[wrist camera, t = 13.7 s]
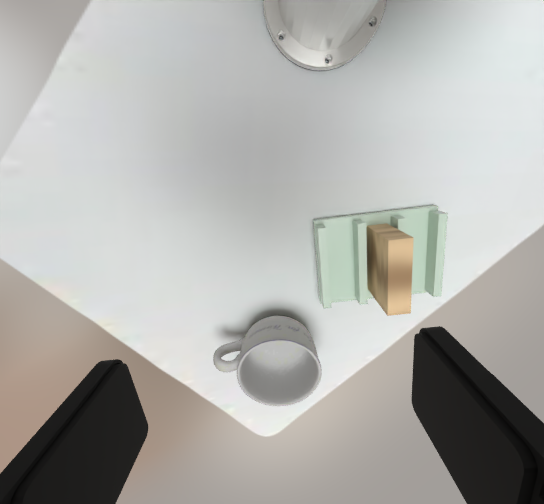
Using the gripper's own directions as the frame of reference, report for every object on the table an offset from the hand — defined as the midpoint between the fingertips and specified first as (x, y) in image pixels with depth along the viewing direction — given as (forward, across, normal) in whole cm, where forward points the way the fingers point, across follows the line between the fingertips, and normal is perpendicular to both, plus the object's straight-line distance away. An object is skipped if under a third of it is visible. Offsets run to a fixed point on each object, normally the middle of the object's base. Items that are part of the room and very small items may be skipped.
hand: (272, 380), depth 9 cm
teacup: (+29, +3, +18) cm, 34 cm away
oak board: (+27, -13, +7) cm, 31 cm away
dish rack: (+28, -13, +7) cm, 32 cm away
